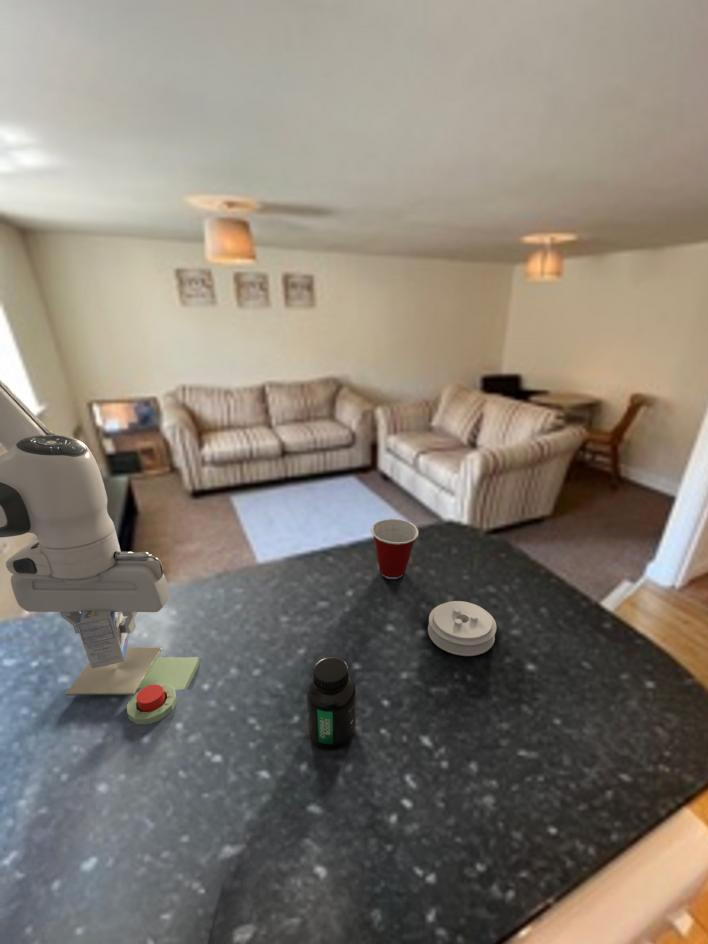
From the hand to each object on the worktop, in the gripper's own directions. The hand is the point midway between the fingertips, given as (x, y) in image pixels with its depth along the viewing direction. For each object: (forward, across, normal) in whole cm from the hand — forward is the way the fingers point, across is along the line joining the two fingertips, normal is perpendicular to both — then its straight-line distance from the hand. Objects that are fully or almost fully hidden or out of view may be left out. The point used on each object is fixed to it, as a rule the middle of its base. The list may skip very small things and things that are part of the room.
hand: (106, 630), depth 68 cm
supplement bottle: (+11, -35, +9) cm, 38 cm away
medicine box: (+4, 0, 0) cm, 4 cm away
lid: (+11, -58, -12) cm, 60 cm away
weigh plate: (+8, 0, 0) cm, 8 cm away
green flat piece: (+11, -3, +2) cm, 12 cm away
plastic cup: (+11, -46, -34) cm, 58 cm away
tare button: (+8, -8, +6) cm, 13 cm away
